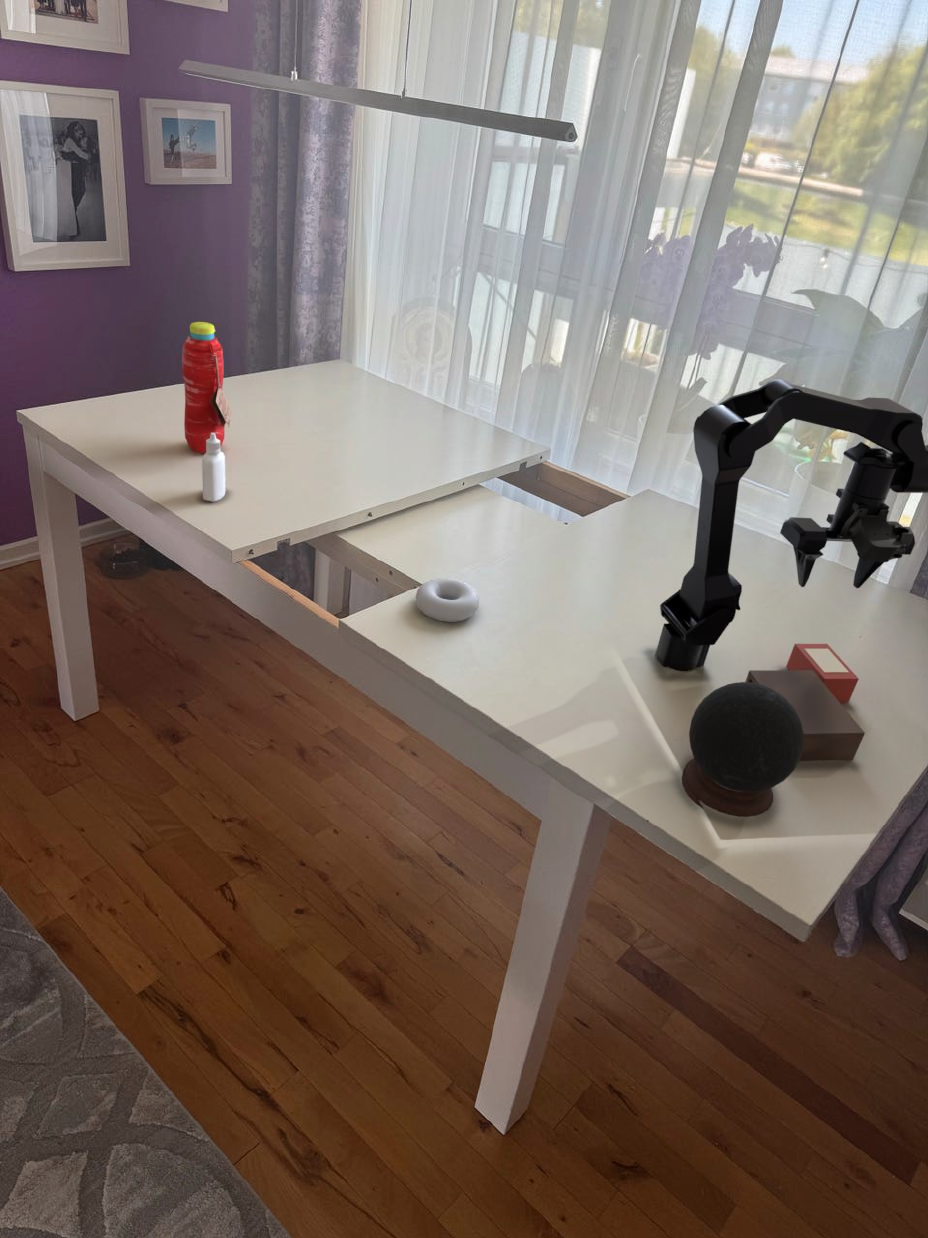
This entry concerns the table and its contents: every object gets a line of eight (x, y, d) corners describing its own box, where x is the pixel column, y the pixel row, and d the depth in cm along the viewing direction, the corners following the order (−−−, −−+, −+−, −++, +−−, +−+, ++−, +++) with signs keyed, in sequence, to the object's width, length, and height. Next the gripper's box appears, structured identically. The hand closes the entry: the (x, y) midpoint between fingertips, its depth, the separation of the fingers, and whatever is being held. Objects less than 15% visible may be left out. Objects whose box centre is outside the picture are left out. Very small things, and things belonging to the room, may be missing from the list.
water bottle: (243, 457, 182) (243, 331, 169) (208, 465, 176) (206, 336, 163) (210, 437, 188) (207, 314, 175) (175, 444, 183) (170, 318, 170)
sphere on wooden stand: (785, 777, 117) (823, 683, 109) (772, 842, 106) (814, 743, 99) (685, 742, 121) (715, 648, 113) (663, 801, 110) (695, 703, 102)
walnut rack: (783, 766, 119) (796, 734, 116) (738, 700, 131) (749, 670, 128) (851, 764, 121) (865, 732, 118) (800, 700, 133) (812, 670, 130)
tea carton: (813, 706, 132) (824, 678, 129) (784, 670, 139) (794, 642, 136) (846, 706, 133) (859, 678, 130) (816, 670, 140) (827, 643, 138)
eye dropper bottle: (194, 495, 164) (191, 432, 158) (218, 487, 169) (217, 426, 162) (209, 504, 162) (208, 440, 156) (234, 496, 166) (233, 433, 160)
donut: (456, 634, 136) (489, 607, 144) (459, 615, 135) (492, 588, 142) (401, 610, 140) (436, 585, 148) (403, 591, 138) (438, 567, 146)
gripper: (836, 513, 119) (798, 614, 128) (958, 518, 123) (914, 615, 132) (796, 479, 129) (763, 574, 137) (910, 484, 133) (872, 577, 141)
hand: (828, 586), depth 136 cm, fingers open, 9 cm apart
